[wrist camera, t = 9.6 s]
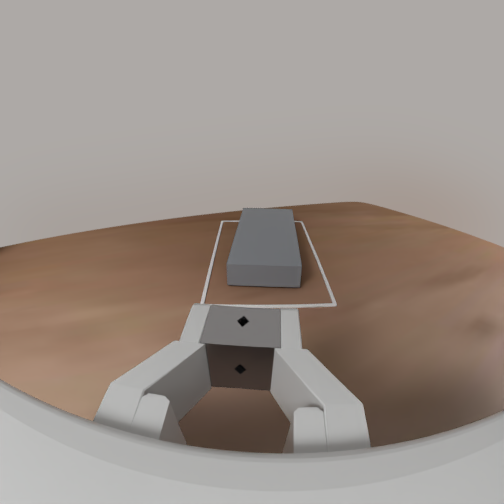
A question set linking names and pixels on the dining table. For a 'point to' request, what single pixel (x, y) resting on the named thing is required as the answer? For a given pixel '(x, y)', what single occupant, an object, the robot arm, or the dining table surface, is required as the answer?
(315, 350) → the dining table surface
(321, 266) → the white wire frame
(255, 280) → the tile
